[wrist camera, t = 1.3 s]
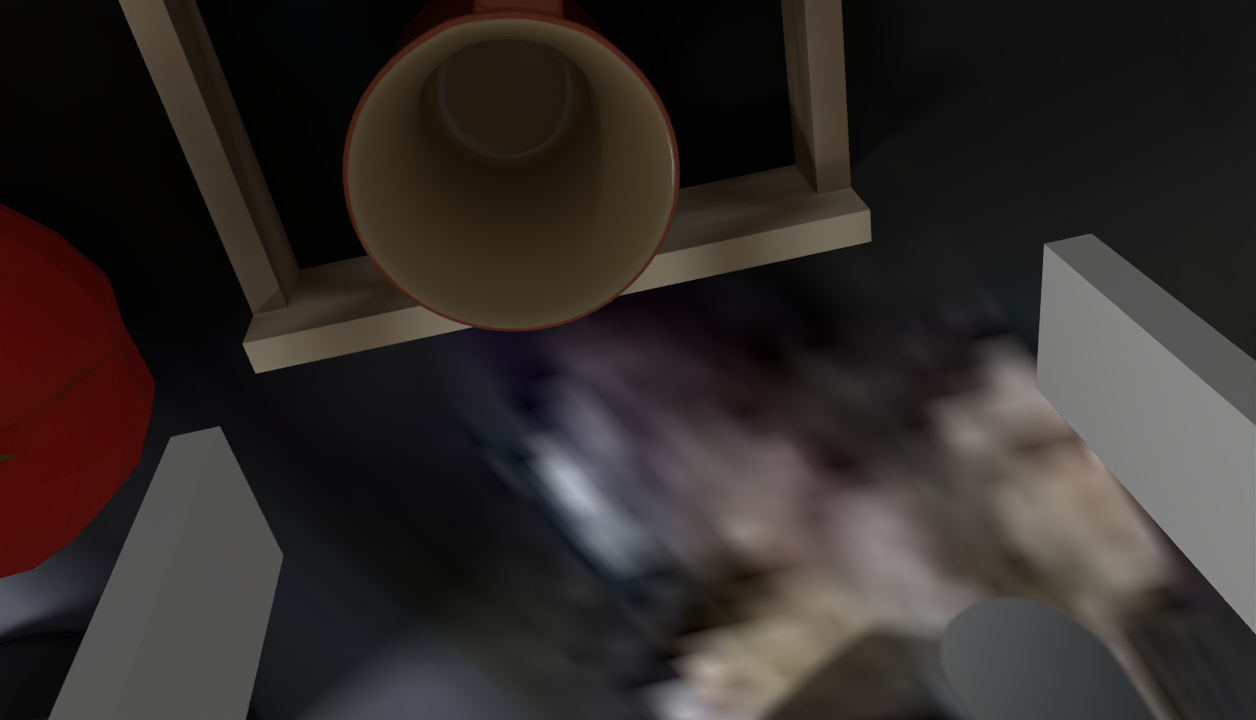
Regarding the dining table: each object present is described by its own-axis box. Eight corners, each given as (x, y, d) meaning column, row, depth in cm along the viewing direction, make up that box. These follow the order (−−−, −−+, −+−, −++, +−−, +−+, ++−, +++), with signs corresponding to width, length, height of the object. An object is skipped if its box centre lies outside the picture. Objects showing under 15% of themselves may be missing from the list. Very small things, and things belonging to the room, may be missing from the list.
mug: (617, 200, 38) (661, 335, 29) (379, 190, 36) (350, 330, 28) (651, -157, 32) (719, -121, 23) (366, -185, 30) (323, -158, 21)
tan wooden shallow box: (279, 303, 38) (255, 373, 34) (82, -179, 29) (16, -166, 25) (827, 187, 38) (871, 241, 34) (794, -321, 30) (847, -332, 25)
